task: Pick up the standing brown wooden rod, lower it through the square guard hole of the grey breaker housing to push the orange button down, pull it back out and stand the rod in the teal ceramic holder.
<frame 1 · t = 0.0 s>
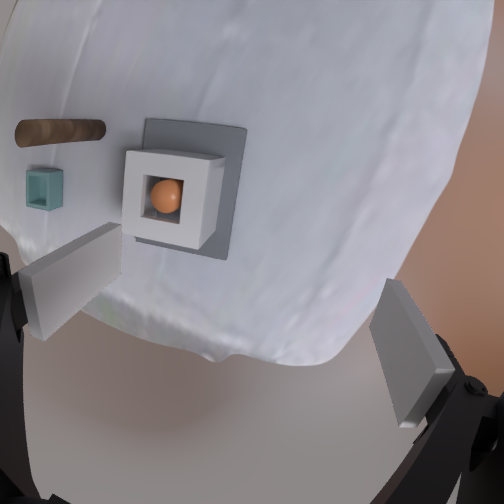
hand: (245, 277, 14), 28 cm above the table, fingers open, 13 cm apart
holder: (50, 186, 45), on the table
breaker housing: (187, 187, 42), on the table
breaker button: (172, 193, 37), point 5 cm above the table, slide at 0.0 cm
brown wooden rod: (97, 130, 41), on the table
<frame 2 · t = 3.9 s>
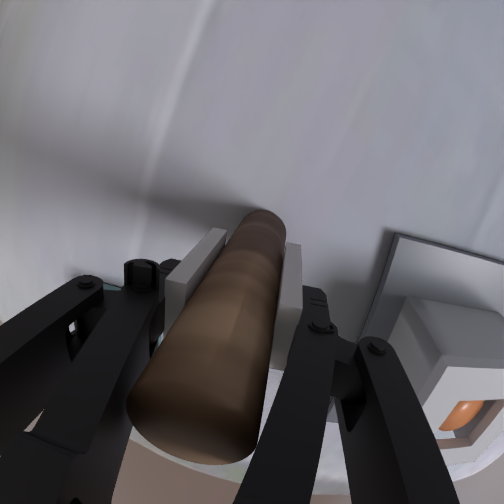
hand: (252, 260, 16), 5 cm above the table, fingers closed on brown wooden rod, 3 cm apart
breaker housing: (430, 350, 23), on the table
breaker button: (451, 392, 17), point 5 cm above the table, slide at 0.0 cm
brown wooden rod: (262, 233, 21), on the table, touching gripper
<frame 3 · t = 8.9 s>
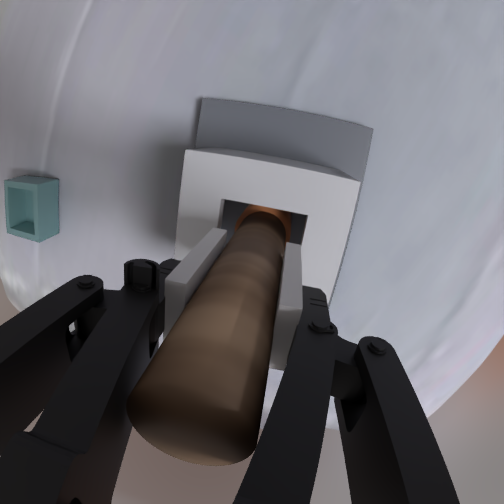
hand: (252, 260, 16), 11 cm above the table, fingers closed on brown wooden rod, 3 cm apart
holder: (40, 203, 30), on the table
breaker housing: (269, 214, 27), on the table
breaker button: (265, 225, 23), point 4 cm above the table, slide at 1.7 cm, touching brown wooden rod
brown wooden rod: (262, 234, 21), point 6 cm above the table, touching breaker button, gripper
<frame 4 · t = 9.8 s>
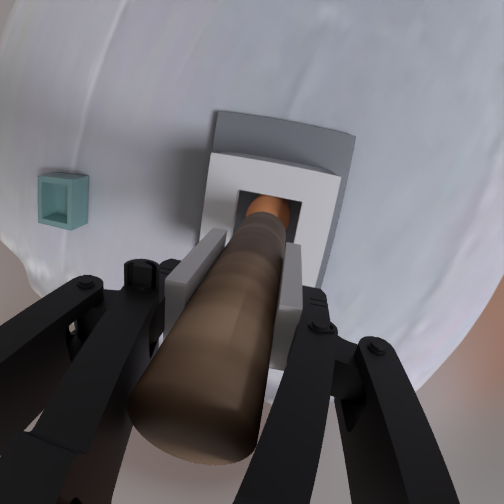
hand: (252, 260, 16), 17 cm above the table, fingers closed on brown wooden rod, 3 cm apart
holder: (70, 197, 36), on the table
breaker housing: (272, 205, 33), on the table
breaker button: (269, 213, 29), point 4 cm above the table, slide at 1.7 cm
brown wooden rod: (262, 234, 21), point 12 cm above the table, touching gripper
when the fingers open (7 cm above the table, at t = 15.9 s): brown wooden rod stays where it is, resting on holder.
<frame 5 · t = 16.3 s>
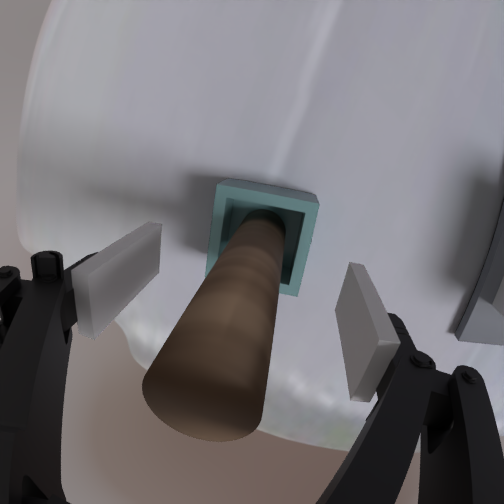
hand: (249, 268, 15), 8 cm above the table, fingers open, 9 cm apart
holder: (264, 227, 23), on the table
brown wooden rod: (262, 231, 22), point 1 cm above the table, touching holder
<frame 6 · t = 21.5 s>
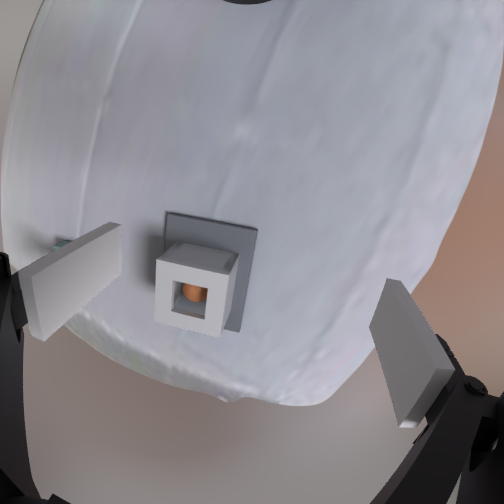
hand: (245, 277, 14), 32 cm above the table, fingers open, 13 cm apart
breaker housing: (205, 274, 50), on the table
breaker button: (199, 284, 47), point 4 cm above the table, slide at 1.7 cm
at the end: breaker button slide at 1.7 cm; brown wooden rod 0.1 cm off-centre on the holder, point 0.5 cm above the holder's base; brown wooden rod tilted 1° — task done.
